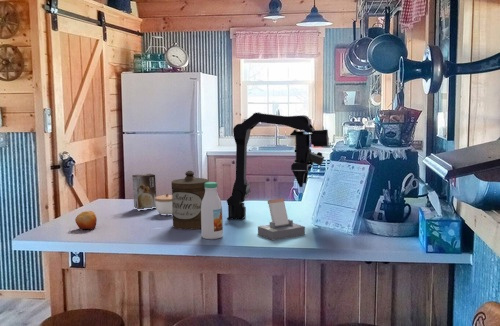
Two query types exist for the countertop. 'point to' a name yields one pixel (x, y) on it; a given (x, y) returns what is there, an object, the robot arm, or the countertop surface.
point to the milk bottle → (211, 213)
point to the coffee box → (144, 191)
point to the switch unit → (281, 230)
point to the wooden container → (187, 201)
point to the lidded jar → (164, 204)
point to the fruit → (86, 220)
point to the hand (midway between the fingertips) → (302, 185)
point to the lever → (278, 212)
